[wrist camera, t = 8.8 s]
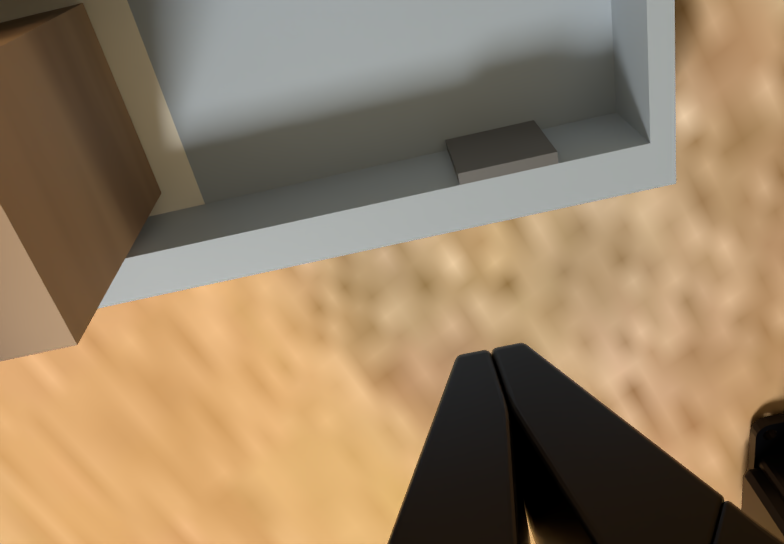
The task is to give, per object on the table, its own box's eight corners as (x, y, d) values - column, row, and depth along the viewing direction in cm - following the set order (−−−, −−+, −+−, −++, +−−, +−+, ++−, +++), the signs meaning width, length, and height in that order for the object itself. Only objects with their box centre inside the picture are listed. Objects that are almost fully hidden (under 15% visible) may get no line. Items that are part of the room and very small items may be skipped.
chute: (618, -222, 16) (673, -239, 13) (632, 141, 20) (675, 183, 17) (-144, -33, 17) (-235, -13, 14) (26, 275, 21) (-18, 333, 18)
